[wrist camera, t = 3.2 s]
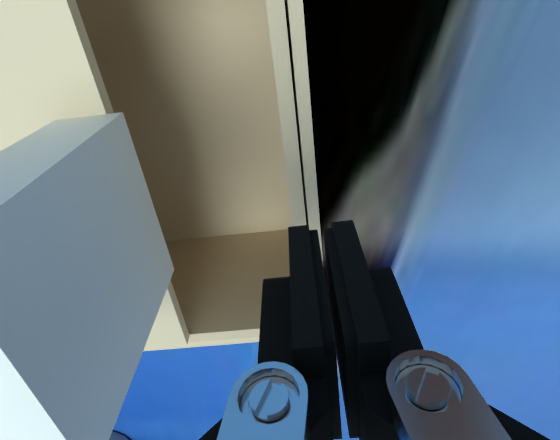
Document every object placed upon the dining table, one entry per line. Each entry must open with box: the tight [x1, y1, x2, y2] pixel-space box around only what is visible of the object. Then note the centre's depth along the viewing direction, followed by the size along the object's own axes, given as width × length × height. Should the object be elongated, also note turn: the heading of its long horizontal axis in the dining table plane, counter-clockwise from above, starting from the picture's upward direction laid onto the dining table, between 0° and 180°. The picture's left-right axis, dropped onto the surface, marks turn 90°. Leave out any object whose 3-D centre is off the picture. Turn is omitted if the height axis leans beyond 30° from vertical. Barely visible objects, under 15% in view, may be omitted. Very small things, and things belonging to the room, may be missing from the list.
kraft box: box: [76, 0, 323, 351], centre depth 20 cm, size 15×19×10 cm
